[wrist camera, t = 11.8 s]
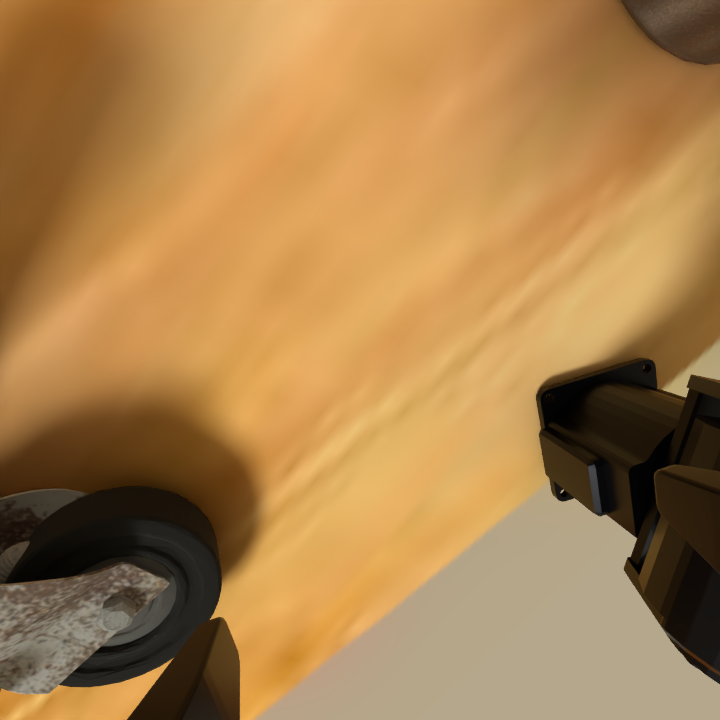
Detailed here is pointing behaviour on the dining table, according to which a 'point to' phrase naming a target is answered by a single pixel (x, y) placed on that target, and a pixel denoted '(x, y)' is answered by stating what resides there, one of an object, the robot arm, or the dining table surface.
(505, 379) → the dining table surface
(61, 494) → the caster wheel
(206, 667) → the robot arm
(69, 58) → the dining table surface
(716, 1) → the plant pot
